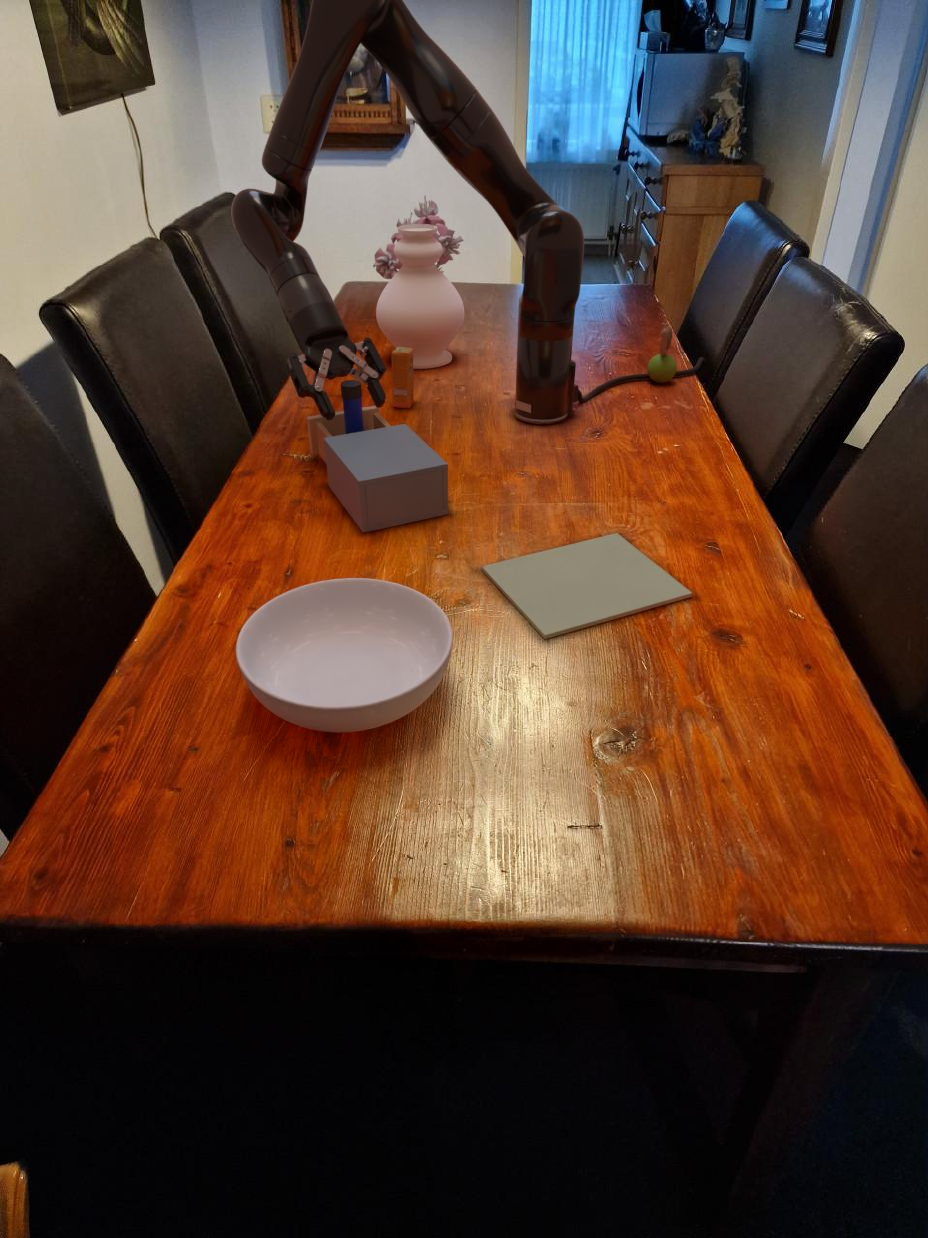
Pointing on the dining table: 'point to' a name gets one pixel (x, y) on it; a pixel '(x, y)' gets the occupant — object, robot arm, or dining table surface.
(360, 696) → the serving bowl
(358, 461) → the cabinet
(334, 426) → the drawer
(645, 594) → the mat
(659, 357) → the green ball with stem
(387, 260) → the flower
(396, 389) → the supplement box
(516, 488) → the dining table surface
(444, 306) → the decorative vase
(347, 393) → the flashlight
